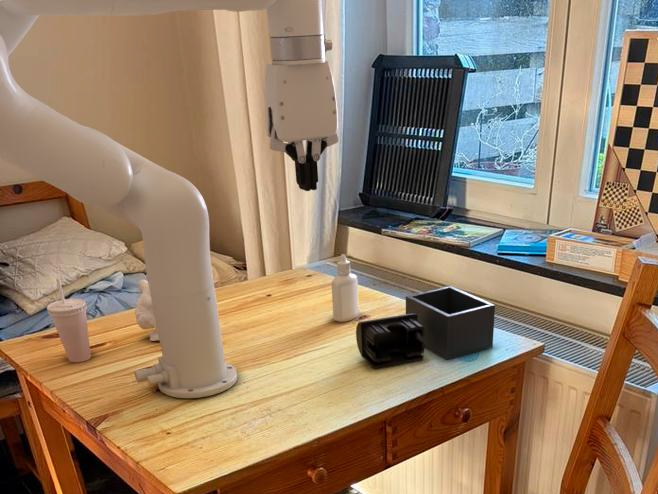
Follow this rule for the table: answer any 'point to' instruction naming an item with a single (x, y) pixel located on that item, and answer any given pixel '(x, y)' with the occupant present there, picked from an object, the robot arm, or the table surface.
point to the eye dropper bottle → (345, 292)
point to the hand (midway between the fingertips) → (307, 188)
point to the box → (453, 321)
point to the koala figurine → (146, 311)
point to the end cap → (390, 341)
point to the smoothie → (71, 326)
